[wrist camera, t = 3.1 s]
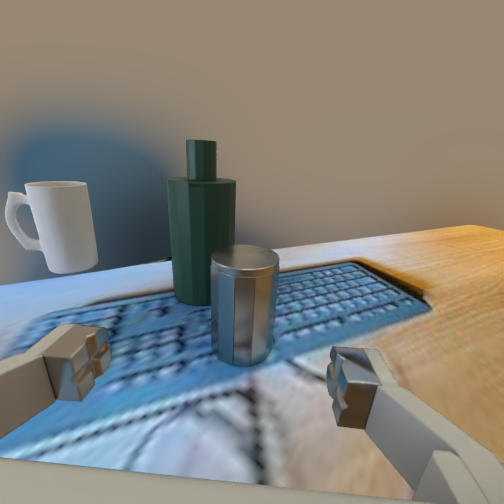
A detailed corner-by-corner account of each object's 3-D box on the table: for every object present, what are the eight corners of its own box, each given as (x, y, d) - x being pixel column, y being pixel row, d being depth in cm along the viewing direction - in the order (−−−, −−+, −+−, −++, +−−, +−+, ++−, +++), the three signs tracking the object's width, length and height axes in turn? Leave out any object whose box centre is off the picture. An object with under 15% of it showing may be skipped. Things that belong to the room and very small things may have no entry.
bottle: (234, 278, 37) (237, 144, 31) (231, 306, 30) (235, 140, 24) (182, 276, 37) (174, 140, 30) (167, 305, 30) (153, 136, 23)
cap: (268, 325, 27) (275, 245, 24) (274, 366, 22) (284, 270, 18) (215, 324, 27) (215, 243, 23) (208, 365, 21) (206, 268, 18)
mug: (105, 256, 42) (92, 181, 38) (94, 273, 36) (77, 187, 32) (32, 259, 40) (10, 180, 35) (7, 279, 34) (-23, 185, 29)
